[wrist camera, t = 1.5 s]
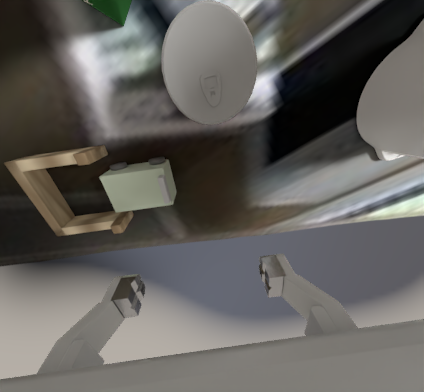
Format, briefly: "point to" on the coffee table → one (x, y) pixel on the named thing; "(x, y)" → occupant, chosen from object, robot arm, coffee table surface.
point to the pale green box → (140, 185)
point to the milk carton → (112, 8)
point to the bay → (52, 198)
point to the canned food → (209, 62)
